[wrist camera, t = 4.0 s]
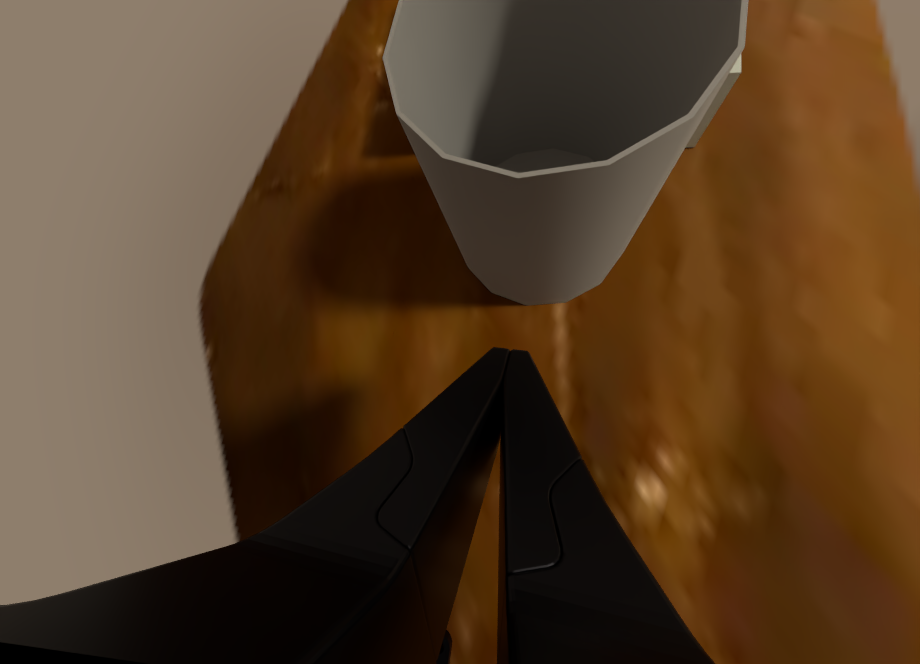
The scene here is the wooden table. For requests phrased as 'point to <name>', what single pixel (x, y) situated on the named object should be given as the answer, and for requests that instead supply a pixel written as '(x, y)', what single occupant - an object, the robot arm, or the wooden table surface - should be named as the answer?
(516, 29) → the cup
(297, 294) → the wooden table surface
